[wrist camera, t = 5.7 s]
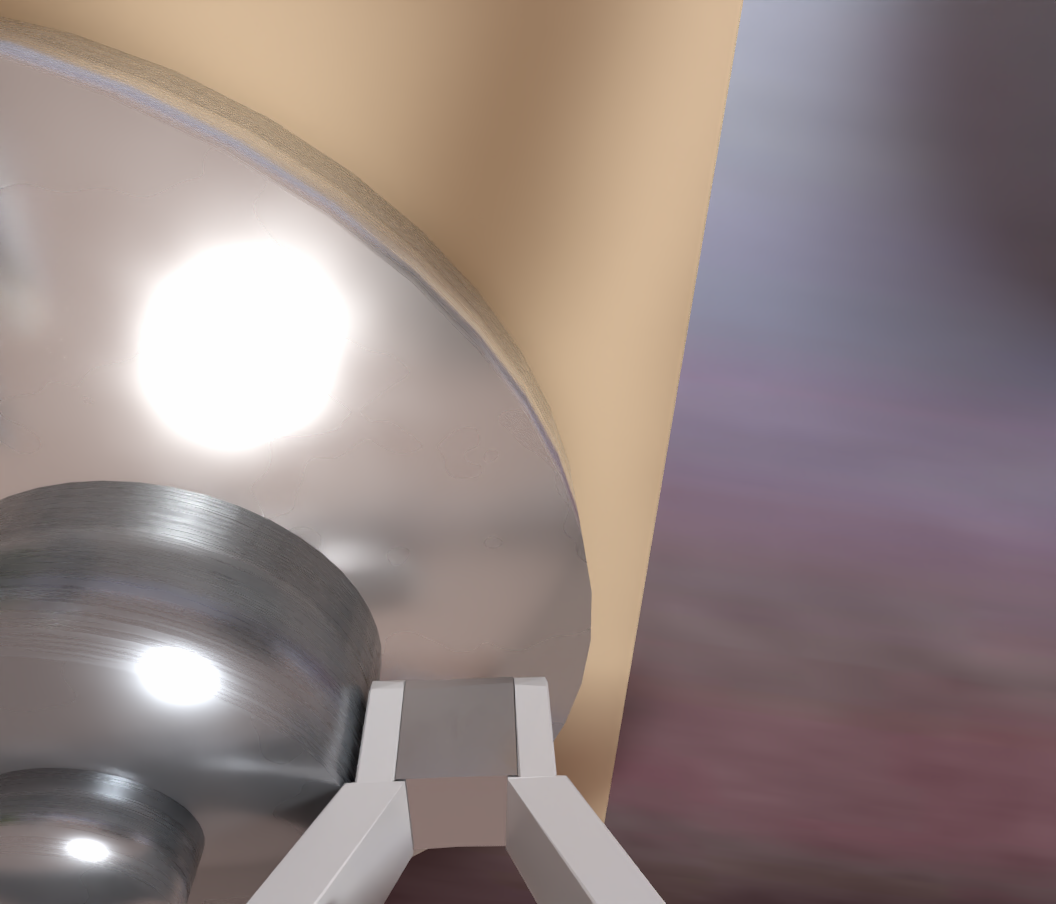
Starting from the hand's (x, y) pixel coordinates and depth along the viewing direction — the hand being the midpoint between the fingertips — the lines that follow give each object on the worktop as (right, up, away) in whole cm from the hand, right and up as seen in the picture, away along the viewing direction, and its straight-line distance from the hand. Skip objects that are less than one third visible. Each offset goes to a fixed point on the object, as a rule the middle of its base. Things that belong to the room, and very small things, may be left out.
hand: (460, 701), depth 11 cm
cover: (-5, +1, +1) cm, 5 cm away
